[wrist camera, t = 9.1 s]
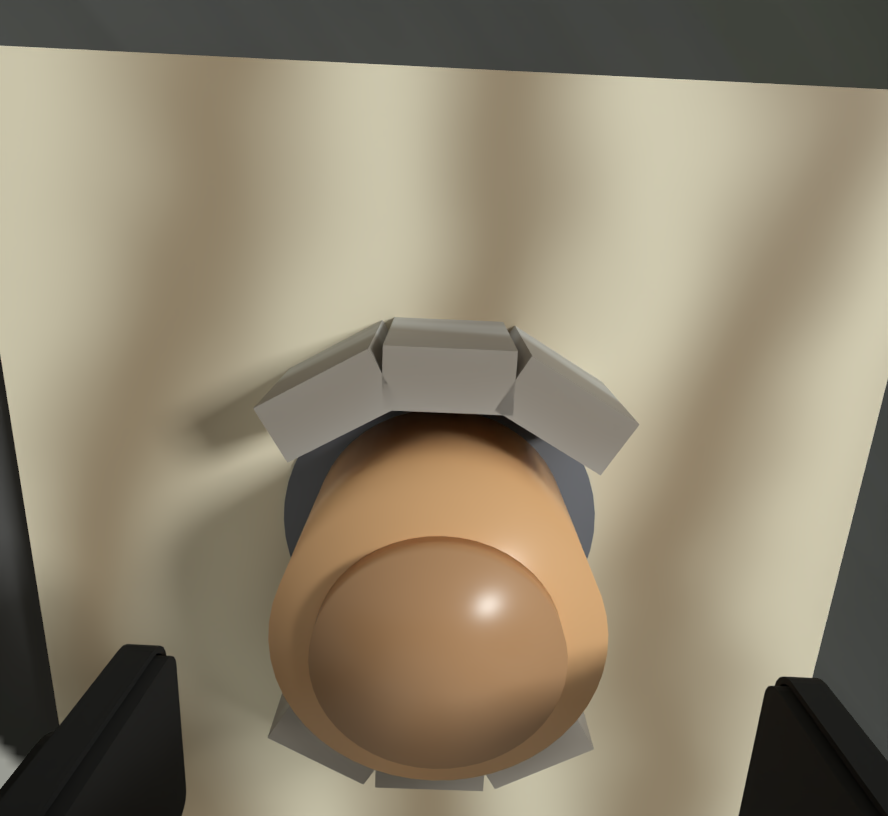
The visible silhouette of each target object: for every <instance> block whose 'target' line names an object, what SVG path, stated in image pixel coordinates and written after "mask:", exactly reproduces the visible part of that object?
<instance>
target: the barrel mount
mask: <svg viewBox="0 0 888 816" xmlns="http://www.w3.org/2000/svg"><path fill="white" fill-rule="evenodd" d="M0 356H1V362H2V368H3V375H4V381H5V387H6V394H7V400H8V406H9V412H10V419H11V425H12V431H13V437H14V444H15V450H16V456H17V463H18V469H19V475H20V481H21V488H22V494H23V500H24V507H25V513H26V519H27V525H28V532H29V538H30V544H31V550H32V557H33V563H34V569H35V576H36V582H37V588H38V594H39V601H40V607H41V613H42V619H43V626H44V632H45V638H46V645H47V651H48V657H49V663H50V670H51V676H52V682H53V688H54V695H55V701H56V707H57V714H58V720H59V725H60V724H61V723H62V721H63V720H64V719H65V718H66V716H67V715H68V714H69V713H70V711H71V710H72V709H73V707H74V706H75V705H76V704H77V702H78V701H79V700H80V699H81V697H82V696H83V695H84V693H85V692H86V691H87V690H88V688H89V687H90V686H91V684H92V683H93V682H94V681H95V679H96V678H97V677H98V676H99V674H100V673H101V672H102V670H103V669H104V668H105V667H106V665H107V664H108V663H109V661H110V660H111V659H112V658H113V656H114V655H115V654H116V653H117V651H118V650H119V649H120V648H121V647H122V646H123V645H125V644H139V645H159V646H162V647H164V649H165V651H166V656H173V657H175V659H176V664H177V677H178V690H179V702H180V715H181V728H182V741H183V753H184V766H185V779H186V801H185V806H184V810H183V813H182V816H739V811H740V806H741V802H742V797H743V792H744V787H745V783H746V778H747V773H748V769H749V764H750V759H751V754H752V750H753V745H754V740H755V736H756V731H757V726H758V721H759V717H760V712H761V707H762V702H763V698H764V693H765V690H766V688H767V687H768V686H775V683H776V681H777V680H778V678H779V677H783V676H785V677H805V678H812V676H813V672H814V668H815V664H816V660H817V656H818V652H819V648H820V644H821V640H822V636H823V632H824V628H825V624H826V620H827V617H828V613H829V609H830V605H831V601H832V597H833V593H834V589H835V585H836V581H837V577H838V573H839V569H840V565H841V561H842V557H843V553H844V549H845V545H846V541H847V537H848V533H849V530H850V526H851V522H852V518H853V514H854V510H855V506H856V502H857V498H858V494H859V490H860V486H861V482H862V478H863V474H864V470H865V466H866V462H867V458H868V454H869V450H870V447H871V443H872V439H873V435H874V431H875V427H876V423H877V419H878V415H879V411H880V407H881V403H882V399H883V395H884V391H885V387H886V383H887V379H888V90H884V89H864V88H844V87H823V86H803V85H783V84H763V83H743V82H722V81H702V80H682V79H662V78H641V77H621V76H601V75H581V74H561V73H540V72H520V71H500V70H480V69H460V68H439V67H419V66H399V65H379V64H358V63H338V62H318V61H298V60H278V59H257V58H237V57H217V56H197V55H176V54H156V53H136V52H116V51H96V50H75V49H55V48H35V47H15V46H0ZM410 412H439V413H463V414H478V415H481V416H484V417H486V418H489V419H492V420H494V421H496V422H498V423H500V424H502V425H504V426H506V427H508V428H510V429H511V430H513V431H514V432H515V433H517V434H518V435H520V436H521V437H522V438H524V439H525V440H526V441H527V442H528V443H529V444H530V445H531V446H532V447H533V448H534V449H535V450H536V451H537V452H538V453H539V455H540V456H541V457H542V458H543V459H544V461H545V462H546V464H547V466H548V467H549V469H550V471H551V472H552V474H553V476H554V478H555V481H556V483H557V485H558V488H559V490H560V493H561V495H562V498H563V500H564V503H565V505H566V508H567V510H568V513H569V515H570V518H571V520H572V523H573V525H574V528H575V531H576V533H577V536H578V538H579V541H580V543H581V546H582V548H583V551H584V553H585V556H586V558H587V561H588V563H589V566H590V568H591V571H592V573H593V576H594V578H595V581H596V583H597V586H598V588H599V591H600V594H601V596H602V599H603V603H604V607H605V611H606V615H607V625H608V651H607V657H606V662H605V667H604V671H603V674H602V677H601V679H600V682H599V685H598V687H597V690H596V692H595V693H594V695H593V697H592V699H591V701H590V703H589V704H588V706H587V707H586V709H585V710H584V711H583V713H582V714H581V716H580V717H579V718H578V720H577V721H576V722H575V723H574V724H573V725H572V726H571V727H570V728H569V729H568V730H567V731H566V732H565V733H564V734H563V735H562V736H561V737H560V738H559V739H557V740H556V741H555V742H554V743H552V744H551V745H550V746H548V747H547V748H546V749H544V750H542V751H541V752H539V753H538V754H536V755H534V756H533V757H531V758H529V759H527V760H525V761H523V762H521V763H519V764H516V765H514V766H512V767H509V768H506V769H504V770H501V771H498V772H495V773H491V774H487V775H483V776H478V777H474V778H466V779H458V780H433V781H432V780H420V779H410V778H405V777H400V776H394V775H390V774H387V773H383V772H380V771H377V770H374V769H371V768H368V767H366V766H364V765H361V764H359V763H357V762H354V761H352V760H350V759H349V758H347V757H345V756H343V755H342V754H340V753H338V752H336V751H335V750H333V749H332V748H331V747H329V746H328V745H327V744H325V743H324V742H322V741H321V740H320V739H319V738H318V737H317V736H315V735H314V734H313V733H312V732H311V731H310V730H309V729H308V728H307V727H306V726H305V725H304V724H303V723H302V721H301V720H300V719H299V718H298V716H297V715H296V714H295V713H294V712H293V710H292V709H291V707H290V705H289V704H288V702H287V701H286V699H285V697H284V696H283V694H282V691H281V689H280V687H279V685H278V682H277V680H276V678H275V674H274V671H273V667H272V663H271V659H270V651H269V643H268V635H269V619H270V614H271V609H272V604H273V601H274V598H275V595H276V592H277V590H278V587H279V584H280V582H281V579H282V577H283V575H284V573H285V570H286V568H287V566H288V563H289V561H290V559H291V556H292V554H293V552H294V549H295V547H296V545H297V542H298V540H299V538H300V535H301V533H302V531H303V528H304V526H305V524H306V521H307V519H308V517H309V514H310V512H311V510H312V507H313V505H314V503H315V500H316V498H317V496H318V493H319V491H320V489H321V487H322V484H323V482H324V480H325V478H326V476H327V474H328V472H329V470H330V468H331V466H332V465H333V463H334V462H335V461H336V459H337V458H338V457H339V455H340V454H341V453H342V452H343V451H344V450H345V449H346V448H347V446H348V445H349V444H350V443H351V442H352V441H354V440H355V439H356V438H358V437H359V436H360V435H361V434H363V433H364V432H365V431H367V430H369V429H370V428H372V427H374V426H375V425H377V424H379V423H381V422H383V421H386V420H388V419H390V418H393V417H395V416H399V415H402V414H406V413H410Z"/></svg>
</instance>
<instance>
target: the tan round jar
mask: <svg viewBox="0 0 888 816" xmlns="http://www.w3.org/2000/svg"><path fill="white" fill-rule="evenodd" d="M268 643H269V651H270V659H271V663H272V667H273V671H274V674H275V678H276V680H277V682H278V685H279V687H280V689H281V691H282V694H283V696H284V697H285V699H286V701H287V702H288V704H289V705H290V707H291V709H292V710H293V712H294V713H295V714H296V715H297V716H298V718H299V719H300V720H301V721H302V723H303V724H304V725H305V726H306V727H307V728H308V729H309V730H310V731H311V732H312V733H313V734H314V735H315V736H317V737H318V738H319V739H320V740H321V741H322V742H324V743H325V744H327V745H328V746H329V747H331V748H332V749H333V750H335V751H336V752H338V753H340V754H342V755H343V756H345V757H347V758H349V759H350V760H352V761H354V762H357V763H359V764H361V765H364V766H366V767H368V768H371V769H374V770H377V771H380V772H383V773H387V774H390V775H394V776H400V777H405V778H410V779H420V780H432V781H433V780H458V779H466V778H474V777H478V776H483V775H487V774H491V773H495V772H498V771H501V770H504V769H506V768H509V767H512V766H514V765H516V764H519V763H521V762H523V761H525V760H527V759H529V758H531V757H533V756H534V755H536V754H538V753H539V752H541V751H542V750H544V749H546V748H547V747H548V746H550V745H551V744H552V743H554V742H555V741H556V740H557V739H559V738H560V737H561V736H562V735H563V734H564V733H565V732H566V731H567V730H568V729H569V728H570V727H571V726H572V725H573V724H574V723H575V722H576V721H577V720H578V718H579V717H580V716H581V714H582V713H583V711H584V710H585V709H586V707H587V706H588V704H589V703H590V701H591V699H592V697H593V695H594V693H595V692H596V690H597V687H598V685H599V682H600V679H601V677H602V674H603V671H604V667H605V662H606V657H607V651H608V625H607V615H606V611H605V607H604V603H603V599H602V596H601V594H600V591H599V588H598V586H597V583H596V581H595V578H594V576H593V573H592V571H591V568H590V566H589V563H588V561H587V558H586V556H585V553H584V551H583V548H582V546H581V543H580V541H579V538H578V536H577V533H576V531H575V528H574V525H573V523H572V520H571V518H570V515H569V513H568V510H567V508H566V505H565V503H564V500H563V498H562V495H561V493H560V490H559V488H558V485H557V483H556V481H555V478H554V476H553V474H552V472H551V471H550V469H549V467H548V466H547V464H546V462H545V461H544V459H543V458H542V457H541V456H540V455H539V453H538V452H537V451H536V450H535V449H534V448H533V447H532V446H531V445H530V444H529V443H528V442H527V441H526V440H525V439H524V438H522V437H521V436H520V435H518V434H517V433H515V432H514V431H513V430H511V429H510V428H508V427H506V426H504V425H502V424H500V423H498V422H496V421H494V420H492V419H489V418H486V417H484V416H481V415H478V414H463V413H439V412H410V413H406V414H402V415H399V416H395V417H393V418H390V419H388V420H386V421H383V422H381V423H379V424H377V425H375V426H374V427H372V428H370V429H369V430H367V431H365V432H364V433H363V434H361V435H360V436H359V437H358V438H356V439H355V440H354V441H352V442H351V443H350V444H349V445H348V446H347V448H346V449H345V450H344V451H343V452H342V453H341V454H340V455H339V457H338V458H337V459H336V461H335V462H334V463H333V465H332V466H331V468H330V470H329V472H328V474H327V476H326V478H325V480H324V482H323V484H322V487H321V489H320V491H319V493H318V496H317V498H316V500H315V503H314V505H313V507H312V510H311V512H310V514H309V517H308V519H307V521H306V524H305V526H304V528H303V531H302V533H301V535H300V538H299V540H298V542H297V545H296V547H295V549H294V552H293V554H292V556H291V559H290V561H289V563H288V566H287V568H286V570H285V573H284V575H283V577H282V579H281V582H280V584H279V587H278V590H277V592H276V595H275V598H274V601H273V604H272V609H271V614H270V619H269V635H268Z"/></svg>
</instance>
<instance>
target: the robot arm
mask: <svg viewBox="0 0 888 816" xmlns="http://www.w3.org/2000/svg"><path fill="white" fill-rule="evenodd" d="M185 801H186V779H185V766H184V753H183V741H182V728H181V715H180V702H179V690H178V677H177V664H176V659H175V657H173V656H166V651H165V649H164V647H162V646H159V645H139V644H125V645H123V646H122V647H121V648H120V649H119V650H118V651H117V653H116V654H115V655H114V656H113V658H112V659H111V660H110V661H109V663H108V664H107V665H106V667H105V668H104V669H103V670H102V672H101V673H100V674H99V676H98V677H97V678H96V679H95V681H94V682H93V683H92V684H91V686H90V687H89V688H88V690H87V691H86V692H85V693H84V695H83V696H82V697H81V699H80V700H79V701H78V702H77V704H76V705H75V706H74V707H73V709H72V710H71V711H70V713H69V714H68V715H67V716H66V718H65V719H64V720H63V721H62V723H61V724H60V725H59V727H58V728H57V729H56V730H55V732H51V733H49V734H47V735H45V736H44V737H43V738H42V739H41V740H40V741H39V742H38V743H37V744H36V745H35V746H34V748H33V749H32V750H31V751H30V753H29V754H28V755H27V756H26V758H25V759H24V760H23V761H22V763H21V764H20V765H19V766H18V768H17V769H16V770H15V771H14V773H13V774H12V775H11V776H10V778H9V779H8V780H7V781H6V783H5V784H4V785H3V786H2V788H1V789H0V816H182V813H183V810H184V806H185ZM739 816H888V761H887V760H886V759H885V757H884V756H883V755H882V754H881V752H880V751H879V750H878V749H877V747H876V746H875V745H874V744H873V742H872V741H871V740H870V739H869V737H868V736H867V735H866V734H865V732H864V731H863V730H862V728H861V727H860V726H859V725H858V723H857V722H856V721H855V720H854V718H853V717H852V716H851V715H850V713H849V712H848V711H847V710H846V708H845V707H844V706H843V705H842V703H841V702H840V701H839V700H838V698H837V697H836V696H835V695H834V693H833V692H832V691H831V690H830V688H829V687H828V686H827V684H825V683H824V682H823V681H822V680H821V679H818V678H805V677H785V676H783V677H779V678H778V680H777V681H776V683H775V686H768V687H767V688H766V690H765V693H764V698H763V702H762V707H761V712H760V717H759V721H758V726H757V731H756V736H755V740H754V745H753V750H752V754H751V759H750V764H749V769H748V773H747V778H746V783H745V787H744V792H743V797H742V802H741V806H740V811H739Z"/></svg>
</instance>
